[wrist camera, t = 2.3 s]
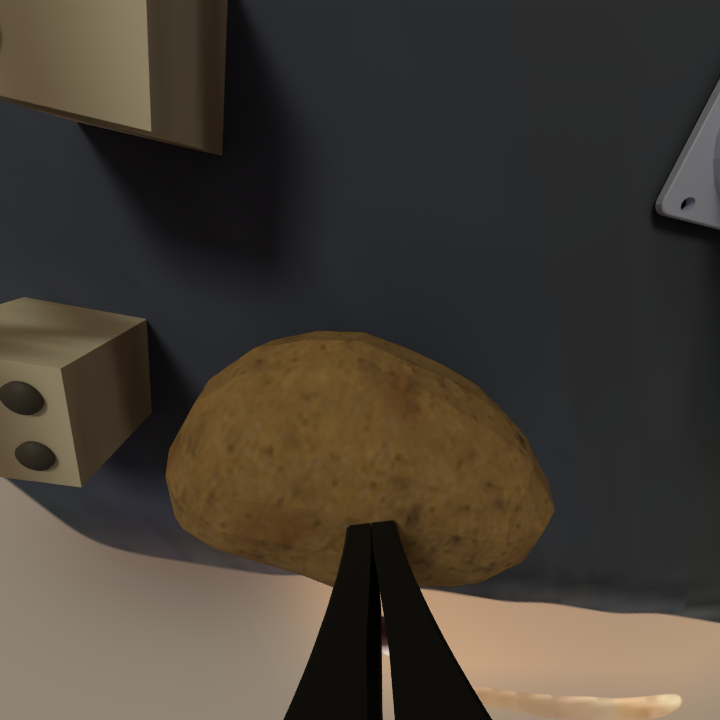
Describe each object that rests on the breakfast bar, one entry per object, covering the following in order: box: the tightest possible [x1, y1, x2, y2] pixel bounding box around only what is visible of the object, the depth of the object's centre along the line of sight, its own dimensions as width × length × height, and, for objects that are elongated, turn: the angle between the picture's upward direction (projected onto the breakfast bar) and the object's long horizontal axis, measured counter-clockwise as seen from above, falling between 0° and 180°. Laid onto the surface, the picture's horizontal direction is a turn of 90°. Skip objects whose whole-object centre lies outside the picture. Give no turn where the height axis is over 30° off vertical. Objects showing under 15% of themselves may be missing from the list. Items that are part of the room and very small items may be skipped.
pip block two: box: [0, 0, 228, 156], centre depth 9 cm, size 5×5×5 cm
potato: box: [165, 331, 554, 589], centre depth 14 cm, size 10×14×8 cm
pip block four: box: [0, 297, 152, 487], centre depth 14 cm, size 5×5×5 cm
